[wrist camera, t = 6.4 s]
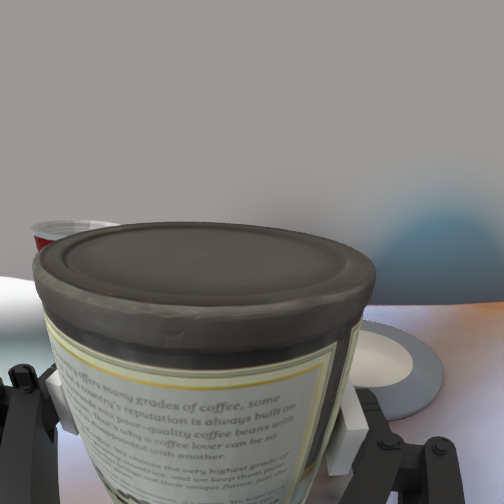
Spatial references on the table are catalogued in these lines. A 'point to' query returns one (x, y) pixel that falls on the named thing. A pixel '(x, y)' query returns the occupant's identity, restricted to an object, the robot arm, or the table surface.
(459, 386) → the table surface
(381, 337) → the slate plate
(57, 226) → the plastic cup
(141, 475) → the coffee can
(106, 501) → the table surface
